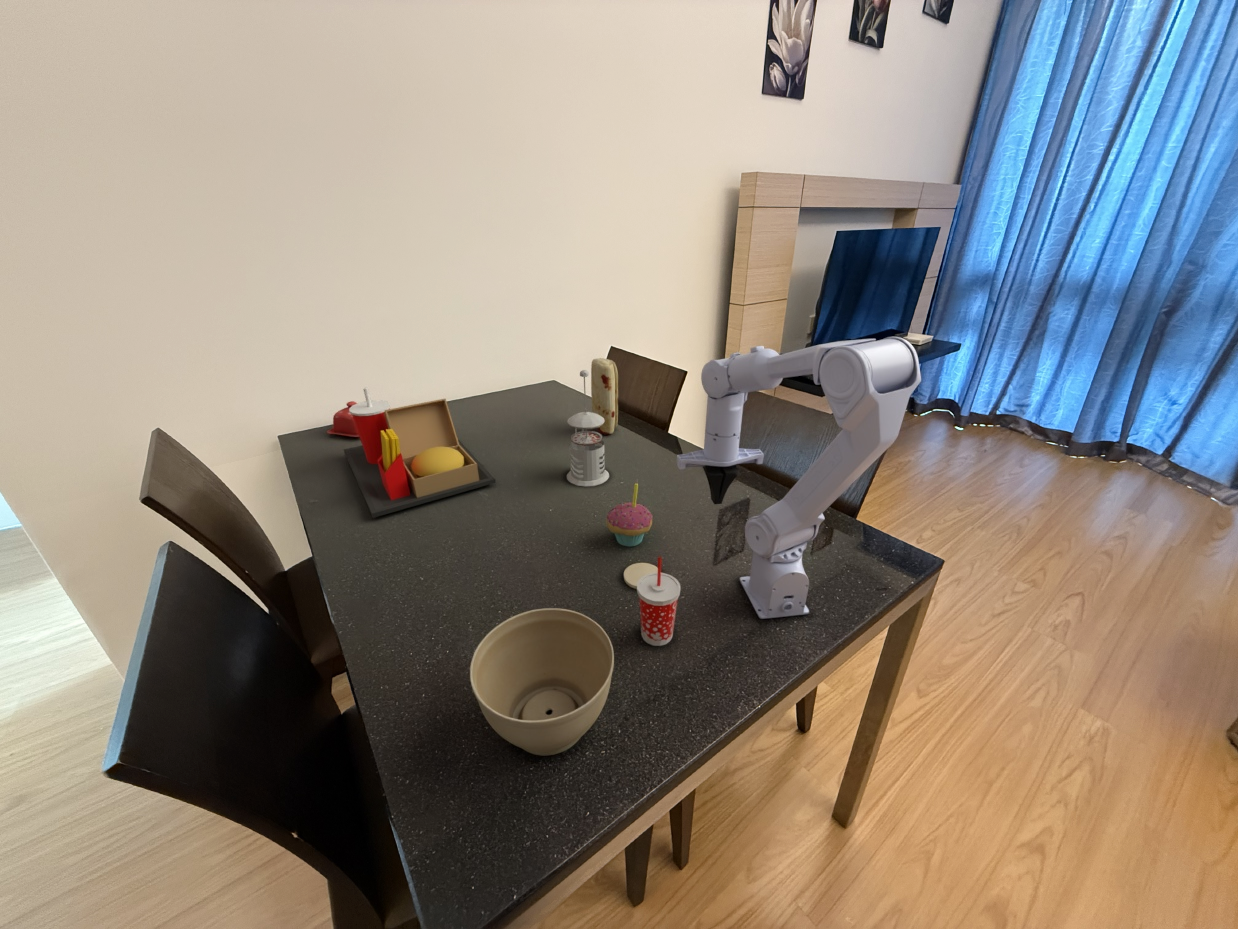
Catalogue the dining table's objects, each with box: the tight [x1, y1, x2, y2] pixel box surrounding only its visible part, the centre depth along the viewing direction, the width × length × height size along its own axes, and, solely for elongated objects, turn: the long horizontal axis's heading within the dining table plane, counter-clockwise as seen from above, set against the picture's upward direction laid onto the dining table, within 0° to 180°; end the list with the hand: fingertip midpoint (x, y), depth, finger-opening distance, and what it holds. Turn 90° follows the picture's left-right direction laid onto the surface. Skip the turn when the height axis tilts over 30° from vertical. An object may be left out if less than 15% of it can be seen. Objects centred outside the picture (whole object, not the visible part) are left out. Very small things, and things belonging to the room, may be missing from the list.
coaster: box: [623, 562, 658, 590], centre depth 89 cm, size 6×6×1 cm
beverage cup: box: [636, 555, 681, 647], centre depth 74 cm, size 6×6×14 cm
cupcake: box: [605, 479, 654, 547], centre depth 96 cm, size 9×8×12 cm
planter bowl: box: [469, 607, 615, 757], centre depth 62 cm, size 16×16×11 cm
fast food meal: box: [343, 387, 496, 518], centre depth 119 cm, size 26×35×18 cm
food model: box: [590, 357, 619, 436], centre depth 139 cm, size 10×7×20 cm
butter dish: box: [326, 400, 360, 438], centre depth 142 cm, size 12×12×8 cm
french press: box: [566, 369, 610, 487], centre depth 116 cm, size 10×12×25 cm
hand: (716, 501), depth 93 cm, fingers closed
